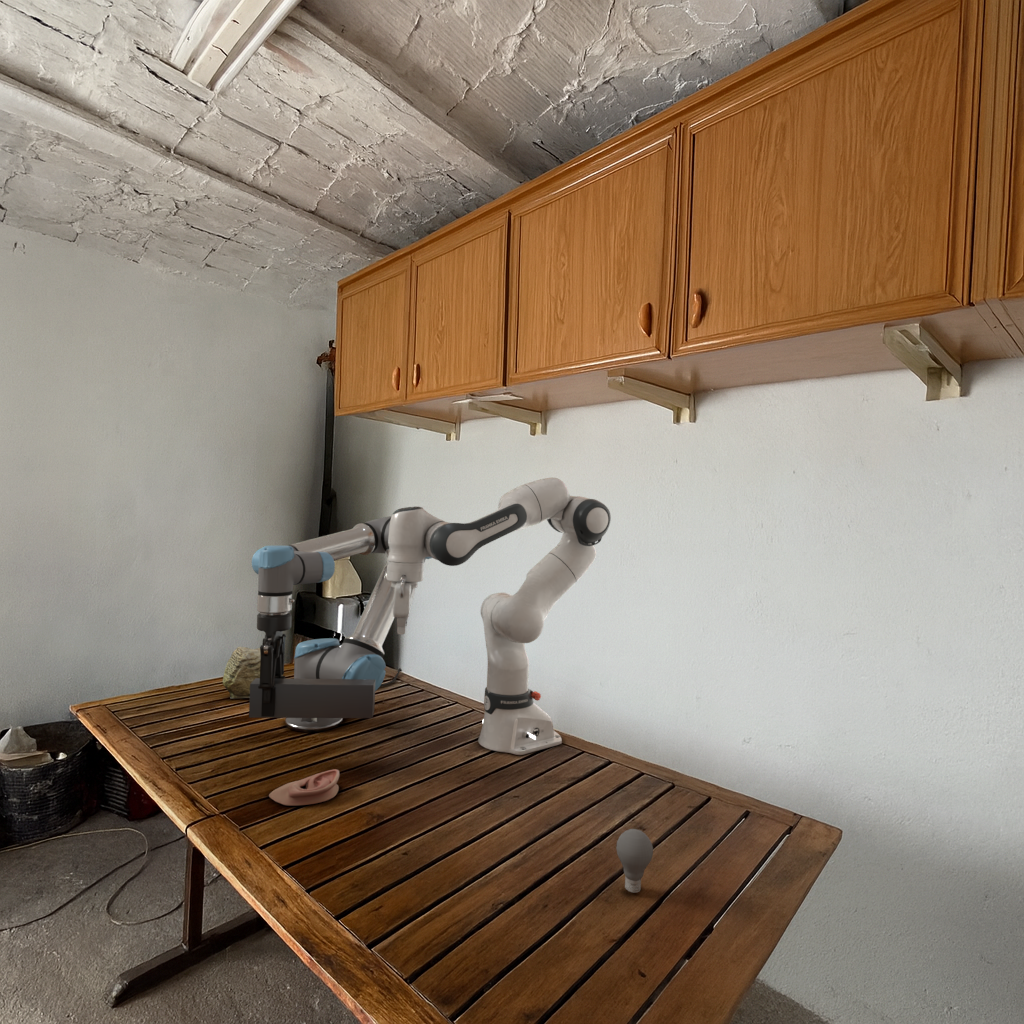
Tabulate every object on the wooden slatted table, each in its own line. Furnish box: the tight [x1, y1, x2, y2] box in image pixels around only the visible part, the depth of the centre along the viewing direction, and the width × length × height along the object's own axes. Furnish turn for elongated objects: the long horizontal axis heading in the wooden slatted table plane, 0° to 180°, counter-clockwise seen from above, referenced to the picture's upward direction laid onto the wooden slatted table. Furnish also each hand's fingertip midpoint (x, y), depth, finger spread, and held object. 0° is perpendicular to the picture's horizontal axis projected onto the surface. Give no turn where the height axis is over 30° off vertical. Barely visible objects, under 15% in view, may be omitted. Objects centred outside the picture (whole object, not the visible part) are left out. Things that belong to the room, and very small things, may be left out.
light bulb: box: [615, 828, 654, 894], centre depth 106 cm, size 6×6×10 cm
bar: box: [248, 677, 376, 719], centre depth 149 cm, size 28×5×8 cm, turn 96°
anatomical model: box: [268, 768, 340, 807], centre depth 134 cm, size 13×4×12 cm
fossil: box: [222, 646, 284, 699], centre depth 198 cm, size 9×18×15 cm, turn 132°
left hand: (270, 711), depth 148 cm, fingers closed on bar, 5 cm apart
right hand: (402, 629), depth 154 cm, fingers open, 8 cm apart
